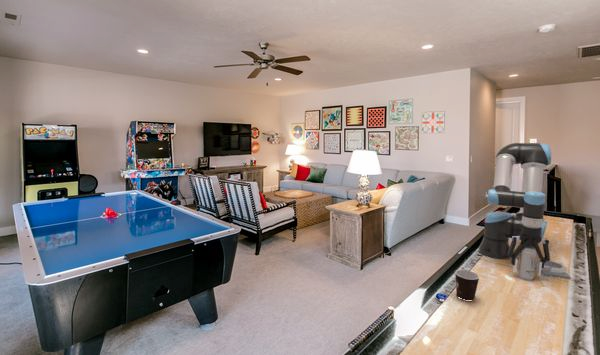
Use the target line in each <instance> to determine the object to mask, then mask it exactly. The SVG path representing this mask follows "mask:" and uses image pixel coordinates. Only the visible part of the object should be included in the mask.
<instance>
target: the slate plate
mask: <svg viewBox="0 0 600 355" xmlns="http://www.w3.org/2000/svg"><path fill="white" fill-rule="evenodd" d="M536 264H537V261H536ZM545 266H546V265H545ZM548 267H552V268H556V267H553V266H548ZM535 269H537V266H536V265H535ZM541 274H542V275H543V277H550V276H552V277H551V278H558V277H560V278H561V279H565V280H566V279H568V280H571V279H572V277H571V276H570V275H569V274H568V273H567V272H566V273H564V274H554V273H549V272H546V271H543V270H541ZM560 278H559V279H560Z"/></svg>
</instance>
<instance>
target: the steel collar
mask: <svg viewBox="0 0 600 355" xmlns="http://www.w3.org/2000/svg"><path fill="white" fill-rule="evenodd" d="M545 265H546V266H545ZM536 266H537V264H536ZM548 266H553V267H556V268H552V267H548ZM567 269H568V268H567V266H565V265H564V264H563V263H560V262H557V261H554V260H550V261H546V262H545V263H544V268H541V270H543V271H546V272H549V273H554V274H564V273H567Z"/></svg>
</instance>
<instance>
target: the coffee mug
mask: <svg viewBox="0 0 600 355" xmlns="http://www.w3.org/2000/svg"><path fill="white" fill-rule="evenodd" d="M454 274H455V288H456V290H455V291H456V292H455V293H456V294H455V295H456V297H457V296H458V297H460V298H462V299H465V300H473V299H474V300H475V297H476V294H477V293H476V292H477V289H478V284H479V280H480V275H479V274H478V273H476V272H475V271H472V270H468V269H457V270H455V273H454ZM458 297H457V298H458ZM474 300H473V301H474Z"/></svg>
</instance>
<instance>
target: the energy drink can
mask: <svg viewBox="0 0 600 355" xmlns="http://www.w3.org/2000/svg"><path fill="white" fill-rule="evenodd" d="M537 256H538V254H537V251H536V248H535V247H532V246H525V248H523V249H522V251H521V252H520V253H519V259H518V260H519V263H518V271H517V275H518V278H520V279H522V280H524V281H532V280H534V278H535V273H536V267H535V265H536V262H537Z"/></svg>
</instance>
